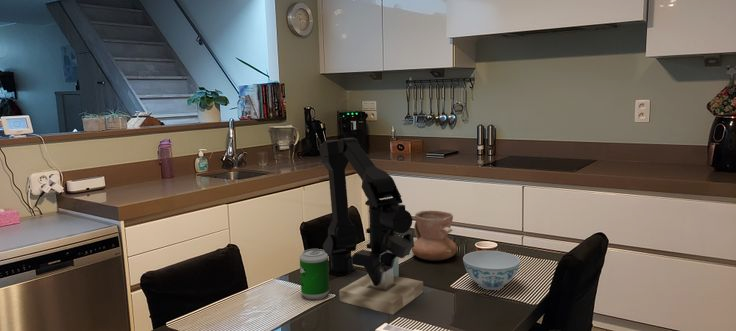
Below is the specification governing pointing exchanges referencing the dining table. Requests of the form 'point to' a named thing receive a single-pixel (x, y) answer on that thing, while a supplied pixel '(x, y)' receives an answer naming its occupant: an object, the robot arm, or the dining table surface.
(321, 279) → the soda can
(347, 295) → the socket plate
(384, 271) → the square peg
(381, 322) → the dining table surface
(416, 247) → the ceramic jug
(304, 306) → the dining table surface
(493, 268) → the chinaware
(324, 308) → the dining table surface
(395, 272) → the round peg
